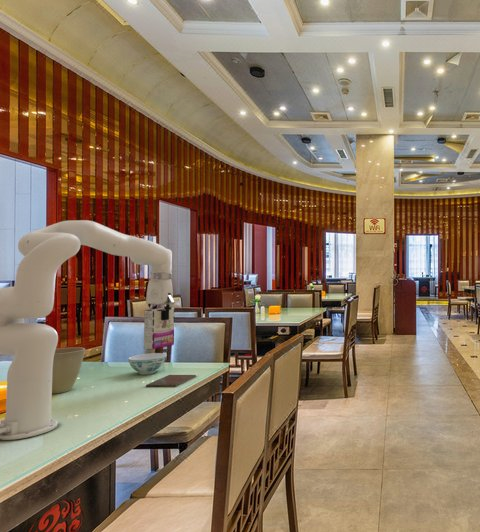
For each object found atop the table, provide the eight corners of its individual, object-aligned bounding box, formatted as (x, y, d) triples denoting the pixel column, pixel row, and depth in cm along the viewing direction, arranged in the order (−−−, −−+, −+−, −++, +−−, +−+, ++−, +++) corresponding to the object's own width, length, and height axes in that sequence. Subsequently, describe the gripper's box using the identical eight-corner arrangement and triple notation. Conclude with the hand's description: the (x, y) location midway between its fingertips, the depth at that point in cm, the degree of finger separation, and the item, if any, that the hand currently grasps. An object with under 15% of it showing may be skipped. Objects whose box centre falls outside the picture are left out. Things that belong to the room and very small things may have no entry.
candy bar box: (164, 344, 164) (165, 307, 165) (174, 345, 163) (175, 307, 164) (142, 349, 153) (143, 309, 154) (152, 350, 152) (154, 309, 153)
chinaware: (127, 378, 165) (128, 361, 165) (127, 371, 177) (128, 355, 177) (167, 373, 174) (167, 357, 174) (165, 367, 186) (165, 351, 186)
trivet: (175, 386, 154) (175, 385, 154) (146, 386, 154) (146, 384, 154) (195, 376, 170) (195, 374, 170) (169, 376, 170) (169, 374, 170)
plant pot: (93, 387, 152) (94, 348, 152) (49, 398, 138) (51, 355, 138) (67, 384, 156) (68, 346, 157) (23, 394, 142) (24, 353, 143)
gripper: (137, 277, 158) (136, 319, 157) (168, 277, 153) (167, 321, 152) (154, 277, 165) (152, 318, 165) (183, 277, 160) (182, 319, 159)
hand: (159, 319), depth 158 cm, fingers closed on candy bar box, 5 cm apart
